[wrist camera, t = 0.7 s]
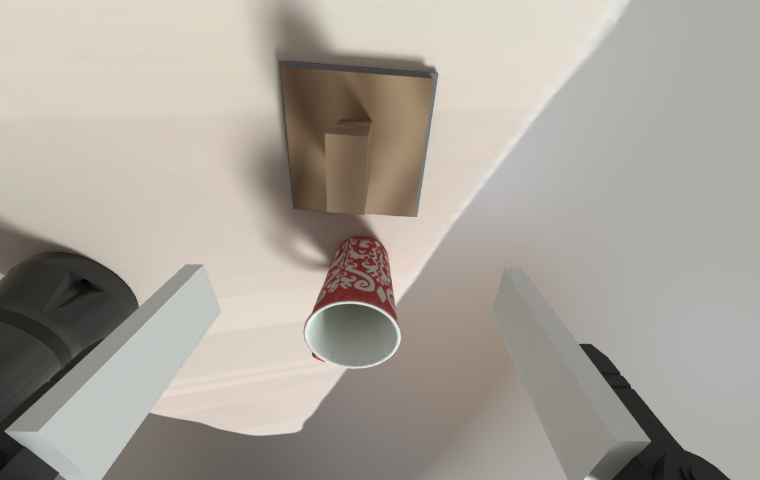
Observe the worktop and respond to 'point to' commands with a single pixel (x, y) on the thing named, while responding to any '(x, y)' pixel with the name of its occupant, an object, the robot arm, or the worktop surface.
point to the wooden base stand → (355, 140)
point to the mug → (355, 308)
